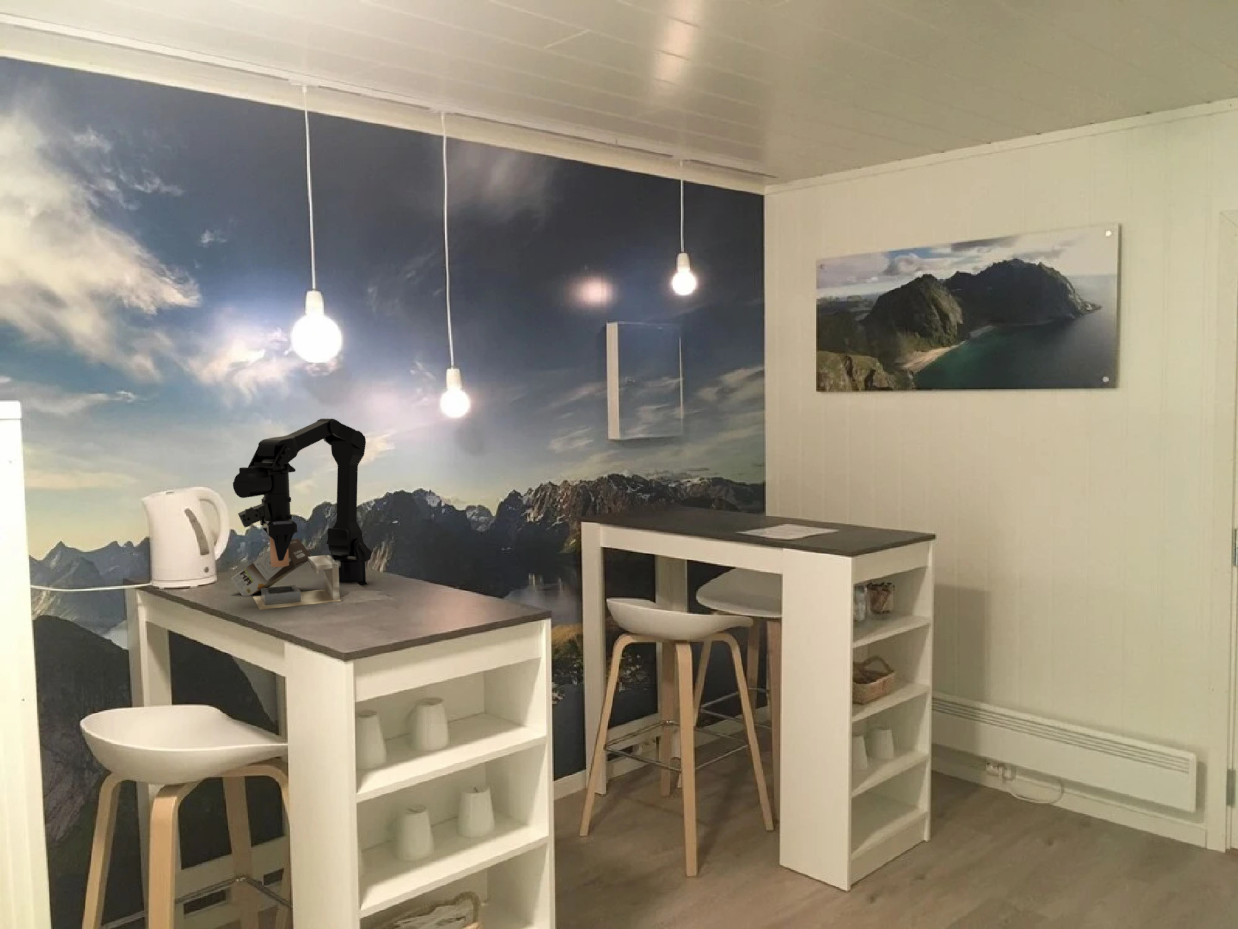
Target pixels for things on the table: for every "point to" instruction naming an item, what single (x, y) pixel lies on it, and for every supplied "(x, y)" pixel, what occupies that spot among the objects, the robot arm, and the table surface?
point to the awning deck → (315, 596)
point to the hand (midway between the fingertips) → (279, 559)
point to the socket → (280, 595)
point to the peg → (274, 558)
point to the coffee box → (269, 570)
